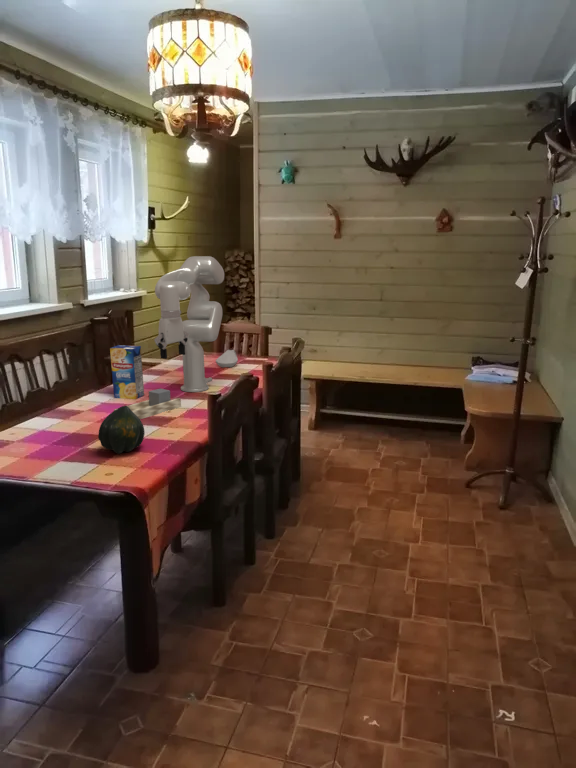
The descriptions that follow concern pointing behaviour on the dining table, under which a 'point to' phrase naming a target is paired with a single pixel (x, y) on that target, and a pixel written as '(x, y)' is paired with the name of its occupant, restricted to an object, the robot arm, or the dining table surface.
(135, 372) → the beverage box
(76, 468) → the dining table surface
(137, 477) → the dining table surface
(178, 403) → the birch chute
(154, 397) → the slate block
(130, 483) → the dining table surface
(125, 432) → the squash
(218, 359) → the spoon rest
